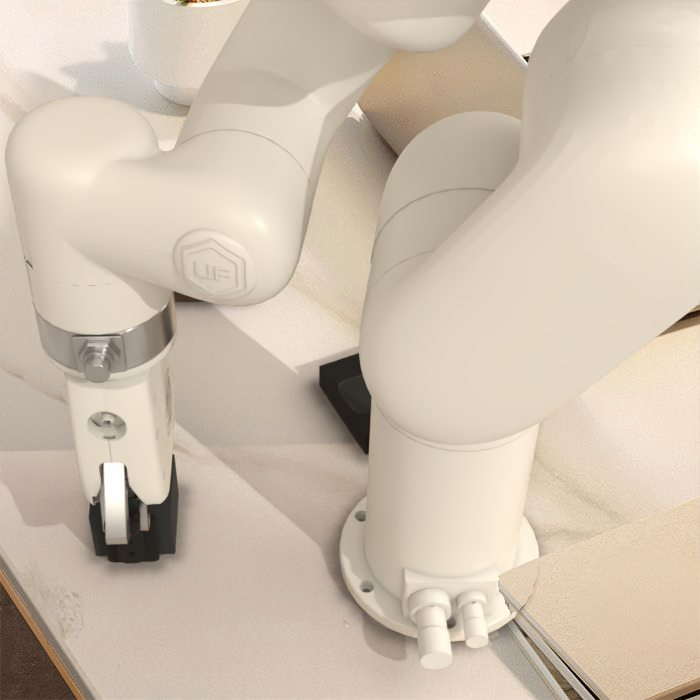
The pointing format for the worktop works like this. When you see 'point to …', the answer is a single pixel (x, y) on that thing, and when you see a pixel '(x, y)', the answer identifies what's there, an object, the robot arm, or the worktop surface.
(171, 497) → the block
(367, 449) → the vhs tape
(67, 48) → the worktop surface
